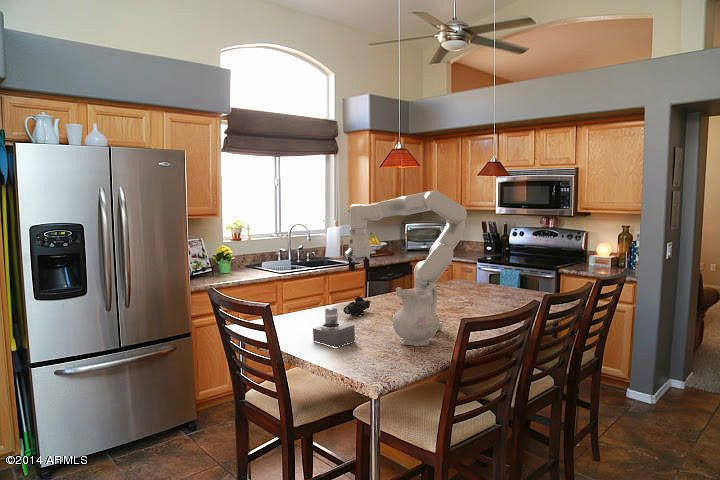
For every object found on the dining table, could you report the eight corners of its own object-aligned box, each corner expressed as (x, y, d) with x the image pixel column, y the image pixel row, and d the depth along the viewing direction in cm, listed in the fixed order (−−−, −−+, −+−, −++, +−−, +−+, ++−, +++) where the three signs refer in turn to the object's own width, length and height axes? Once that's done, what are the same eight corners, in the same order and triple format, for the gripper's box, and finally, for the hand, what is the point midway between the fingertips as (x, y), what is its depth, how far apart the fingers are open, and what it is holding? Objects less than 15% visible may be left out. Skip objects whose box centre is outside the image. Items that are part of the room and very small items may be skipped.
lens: (340, 327, 211) (340, 308, 210) (331, 330, 206) (331, 311, 205) (331, 324, 214) (331, 306, 213) (322, 327, 210) (322, 309, 209)
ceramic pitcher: (414, 334, 222) (409, 279, 221) (452, 338, 210) (448, 280, 209) (385, 347, 206) (380, 288, 204) (425, 352, 193) (420, 289, 192)
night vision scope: (347, 323, 248) (335, 308, 252) (368, 316, 262) (356, 302, 266) (354, 312, 244) (342, 298, 248) (376, 306, 258) (364, 292, 262)
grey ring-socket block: (354, 342, 209) (354, 323, 208) (336, 348, 201) (335, 329, 200) (331, 336, 219) (331, 318, 218) (313, 342, 211) (312, 323, 210)
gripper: (351, 233, 213) (352, 272, 215) (377, 230, 225) (378, 267, 227) (339, 233, 218) (340, 271, 220) (365, 230, 231) (366, 266, 232)
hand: (359, 269), depth 223 cm, fingers open, 9 cm apart
